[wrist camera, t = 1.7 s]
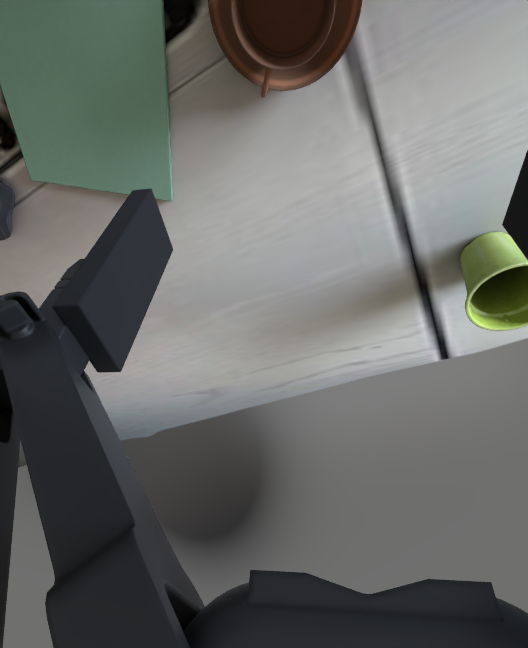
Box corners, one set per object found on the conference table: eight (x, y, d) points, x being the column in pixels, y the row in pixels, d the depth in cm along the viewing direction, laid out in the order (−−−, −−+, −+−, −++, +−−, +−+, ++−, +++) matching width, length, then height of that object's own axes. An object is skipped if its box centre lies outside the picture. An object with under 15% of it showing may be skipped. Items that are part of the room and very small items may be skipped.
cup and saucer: (354, 79, 34) (362, 98, 30) (225, 90, 36) (214, 110, 31) (367, -124, 26) (380, -138, 22) (197, -99, 28) (178, -107, 23)
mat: (-40, -56, 30) (-45, -56, 30) (162, -21, 31) (160, -21, 30) (33, 177, 43) (30, 180, 43) (173, 198, 44) (171, 201, 44)
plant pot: (445, 290, 50) (464, 337, 44) (444, 229, 44) (467, 275, 38) (524, 274, 48) (557, 322, 42) (535, 208, 42) (575, 253, 36)
